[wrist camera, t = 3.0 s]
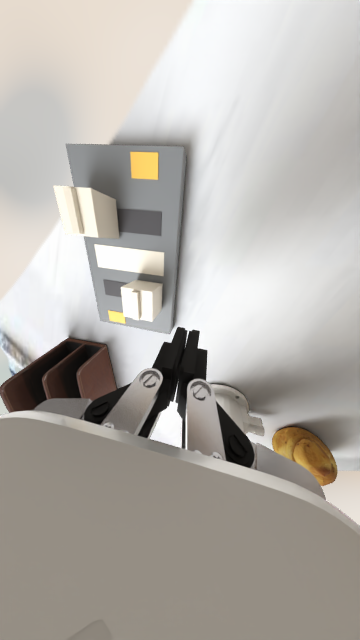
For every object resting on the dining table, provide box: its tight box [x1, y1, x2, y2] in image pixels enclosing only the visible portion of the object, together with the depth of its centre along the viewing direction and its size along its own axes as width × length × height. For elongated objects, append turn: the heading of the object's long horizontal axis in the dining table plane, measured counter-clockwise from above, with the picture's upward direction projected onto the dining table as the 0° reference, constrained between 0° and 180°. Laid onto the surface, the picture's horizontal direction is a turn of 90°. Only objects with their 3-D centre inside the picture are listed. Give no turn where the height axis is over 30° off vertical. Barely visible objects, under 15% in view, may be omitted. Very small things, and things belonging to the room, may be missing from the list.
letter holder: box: [0, 338, 117, 413], centre depth 31 cm, size 10×20×14 cm, turn 177°
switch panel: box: [66, 144, 187, 334], centre depth 21 cm, size 13×22×2 cm, turn 175°
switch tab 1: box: [53, 186, 119, 239], centre depth 16 cm, size 4×4×5 cm
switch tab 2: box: [121, 280, 163, 321], centre depth 20 cm, size 4×4×5 cm
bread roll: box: [272, 427, 337, 486], centre depth 30 cm, size 13×10×8 cm
